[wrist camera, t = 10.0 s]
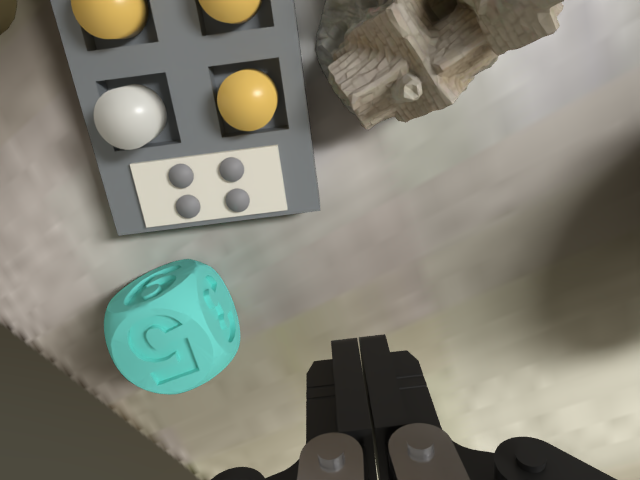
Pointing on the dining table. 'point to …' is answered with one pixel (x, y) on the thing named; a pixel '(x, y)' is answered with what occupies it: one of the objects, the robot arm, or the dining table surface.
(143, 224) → the button board
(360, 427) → the robot arm
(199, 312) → the decorative dice
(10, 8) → the olive rounded cylinder
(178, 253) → the dining table surface
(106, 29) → the amber button
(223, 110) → the amber button
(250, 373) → the dining table surface
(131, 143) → the white button
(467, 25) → the ceramic cottage
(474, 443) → the dining table surface
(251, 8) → the amber button
